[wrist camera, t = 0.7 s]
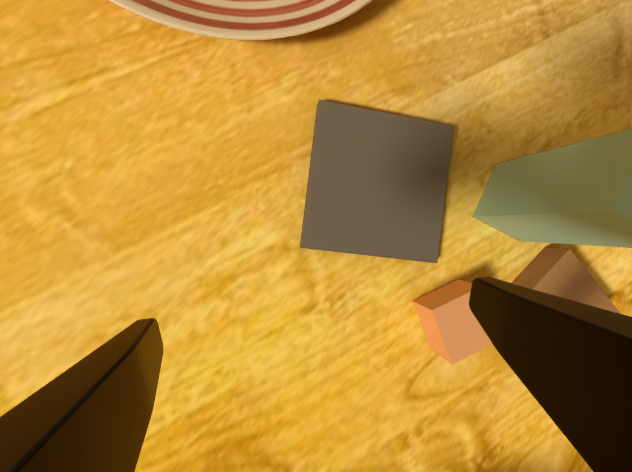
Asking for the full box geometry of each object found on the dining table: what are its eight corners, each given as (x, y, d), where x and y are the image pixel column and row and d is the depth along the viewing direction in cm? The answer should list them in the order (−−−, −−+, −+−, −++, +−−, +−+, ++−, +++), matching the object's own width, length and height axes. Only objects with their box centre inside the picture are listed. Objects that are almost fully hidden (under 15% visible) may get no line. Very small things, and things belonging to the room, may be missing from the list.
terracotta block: (482, 285, 22) (456, 278, 25) (431, 310, 21) (411, 300, 24) (501, 338, 22) (473, 325, 25) (452, 364, 22) (429, 347, 25)
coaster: (431, 261, 24) (437, 263, 23) (299, 247, 22) (301, 247, 22) (447, 129, 24) (454, 126, 23) (317, 104, 22) (319, 99, 22)
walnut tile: (588, 306, 27) (621, 314, 25) (534, 366, 27) (562, 380, 24) (540, 246, 26) (569, 248, 24) (483, 307, 26) (507, 315, 23)
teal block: (518, 241, 26) (681, 250, 16) (472, 216, 25) (613, 210, 15) (540, 189, 26) (715, 167, 16) (495, 164, 25) (649, 123, 15)
